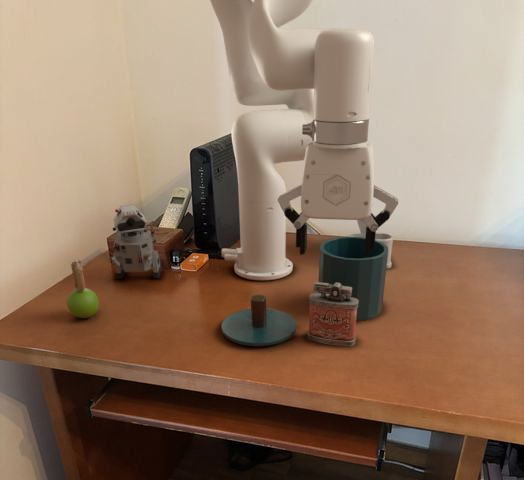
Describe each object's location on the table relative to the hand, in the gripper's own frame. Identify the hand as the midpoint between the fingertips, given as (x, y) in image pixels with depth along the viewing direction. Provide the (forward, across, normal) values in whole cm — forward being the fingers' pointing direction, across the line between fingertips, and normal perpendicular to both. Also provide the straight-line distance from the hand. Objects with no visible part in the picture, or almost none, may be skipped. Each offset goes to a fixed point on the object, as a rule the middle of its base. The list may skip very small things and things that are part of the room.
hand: (334, 253), depth 83 cm
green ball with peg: (+15, -44, +2) cm, 47 cm away
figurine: (+15, -42, +20) cm, 48 cm away
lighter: (+15, 0, 0) cm, 15 cm away
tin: (+15, +2, +14) cm, 20 cm away
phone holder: (+15, +4, +41) cm, 44 cm away
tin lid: (+14, -12, +2) cm, 19 cm away
